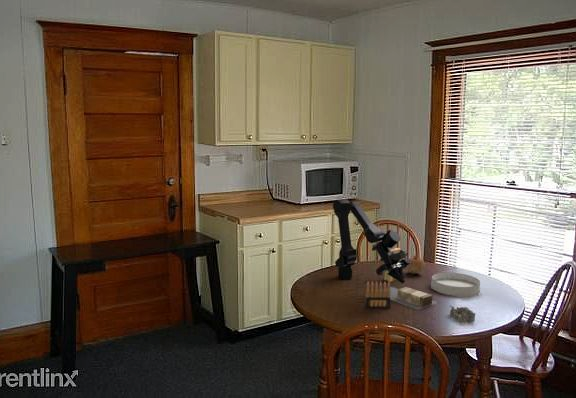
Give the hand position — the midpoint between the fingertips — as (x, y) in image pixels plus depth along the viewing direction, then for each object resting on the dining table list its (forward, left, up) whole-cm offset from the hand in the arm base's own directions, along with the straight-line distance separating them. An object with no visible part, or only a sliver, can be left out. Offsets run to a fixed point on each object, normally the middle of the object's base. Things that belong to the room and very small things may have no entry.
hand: (403, 282), depth 234 cm
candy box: (-2, +26, -7) cm, 27 cm away
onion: (+10, +37, -7) cm, 39 cm away
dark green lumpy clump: (+22, -20, -8) cm, 30 cm away
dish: (+26, +16, -8) cm, 31 cm away
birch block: (0, 0, -5) cm, 5 cm away
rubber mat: (0, 0, -7) cm, 7 cm away
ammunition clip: (-12, -14, -7) cm, 20 cm away
